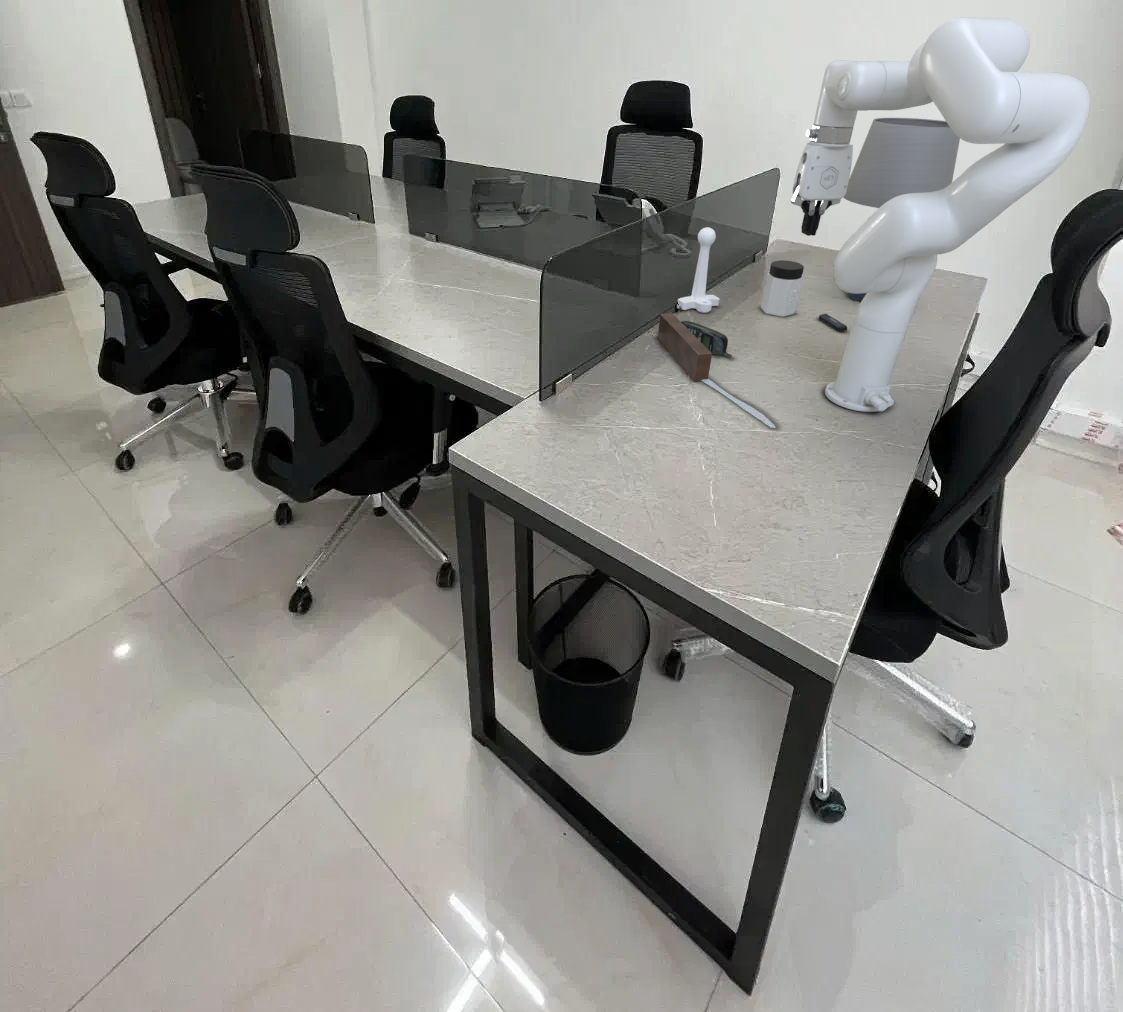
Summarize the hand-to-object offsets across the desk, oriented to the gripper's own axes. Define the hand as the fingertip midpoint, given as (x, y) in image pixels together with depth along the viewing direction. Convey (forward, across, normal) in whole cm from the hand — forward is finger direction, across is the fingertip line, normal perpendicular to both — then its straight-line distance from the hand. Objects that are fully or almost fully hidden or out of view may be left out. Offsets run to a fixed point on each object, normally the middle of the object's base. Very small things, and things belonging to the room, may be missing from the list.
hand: (808, 233), depth 140 cm
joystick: (+25, -10, +27) cm, 38 cm away
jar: (+25, +10, +22) cm, 35 cm away
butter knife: (+26, -23, -23) cm, 42 cm away
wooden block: (+25, -26, -3) cm, 37 cm away
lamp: (+25, +40, +28) cm, 55 cm away
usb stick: (+25, +19, +10) cm, 33 cm away
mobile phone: (+25, -19, +1) cm, 32 cm away
